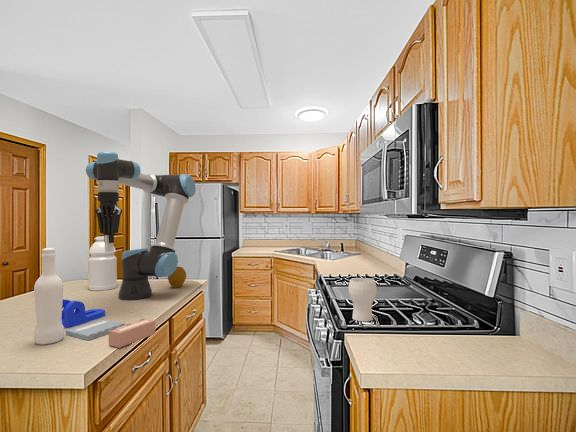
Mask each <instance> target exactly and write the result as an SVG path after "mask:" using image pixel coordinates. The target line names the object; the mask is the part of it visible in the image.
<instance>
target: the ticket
mask: <svg viewBox="0 0 576 432" xmlns="http://www.w3.org/2000/svg"><path fill="white" fill-rule="evenodd" d="M124 325H126V323H122V322H118V321H112V320H108V319H99V320H97V321H94V322H88V323H85V324H82V325H78V326H75V327H71V328H68V329H66V330H65V335H66V336H68V337H71V338H72V337H73V338H77V339H80V340H84V341H91V340H95V339H98V338H100V337H103V336H107V335H109V330H112V329H115V328H118V327H121V326H124Z"/></svg>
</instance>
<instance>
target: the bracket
mask: <svg viewBox="0 0 576 432" xmlns="http://www.w3.org/2000/svg"><path fill="white" fill-rule="evenodd" d="M105 316H106V310H105V309H104V308H93V309H88V310H86V306H85V304H84V302H82V301H80V300H69V299H64V298H63V302H62V325H63V327H64V329H72V328H75V327H78V326H81V325H84V324H88V323H91V322H92V321H95V320H98V319H99V320H100V319H102V318H104V317H105Z"/></svg>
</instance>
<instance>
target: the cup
mask: <svg viewBox="0 0 576 432" xmlns="http://www.w3.org/2000/svg"><path fill="white" fill-rule="evenodd" d="M377 289H378V288H377V283H376V280H375V279H373V278H368V277H355V278H350V280H349V283H348V294H349V298H350V299H351V302H352V306H353V309H352V310H353V311H352V318H351V319H352V320H354V321H357V322H371V321H373V312H372V311H373V310H372V309H373V302H374V301H375V298H376V296H377V292H378V291H377Z"/></svg>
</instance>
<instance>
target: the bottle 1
mask: <svg viewBox="0 0 576 432" xmlns="http://www.w3.org/2000/svg"><path fill="white" fill-rule="evenodd" d="M55 251H56V250H55V248H54V247H46V248H45V247H44V248H42V249H41V255H40V256H41V275H40V276H39V277H38V279H36V281H35V283H34V287H33V294H34V295H33V296H34V305H35V307H34V308H35V319H36V325H35V329H34V332H33V335H34V336H33V339H34V343H36V344H37V345H42V346H43V345H51V344H55V343H58V342H60V341H61V340H63V338H64V336H65V328H64V327H63V325H62V311H63V309H62V302H63V299H64V298H63V297H64V282H63V280H62V279H61V278H60V276H58V274H57V273H56V252H55Z"/></svg>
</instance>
